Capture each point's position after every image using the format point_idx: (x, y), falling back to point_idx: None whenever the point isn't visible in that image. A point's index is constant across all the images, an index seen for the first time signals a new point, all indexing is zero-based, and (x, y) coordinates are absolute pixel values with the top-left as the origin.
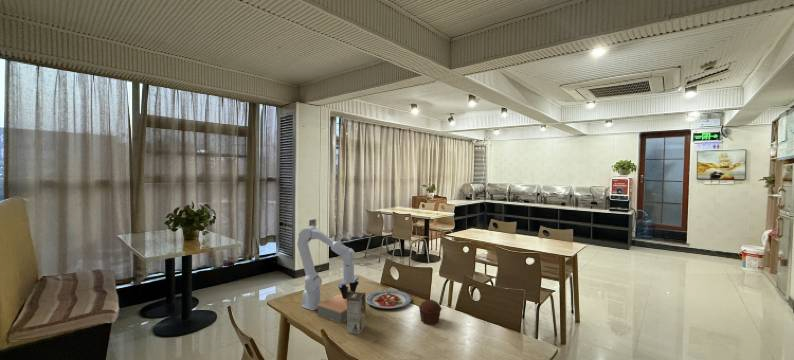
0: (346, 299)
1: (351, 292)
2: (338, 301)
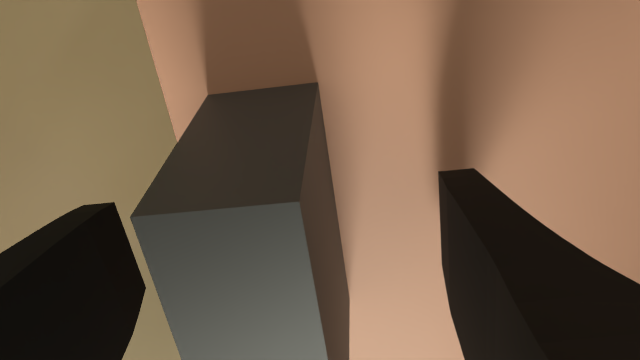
0: (376, 193)
1: (258, 200)
2: (600, 245)
